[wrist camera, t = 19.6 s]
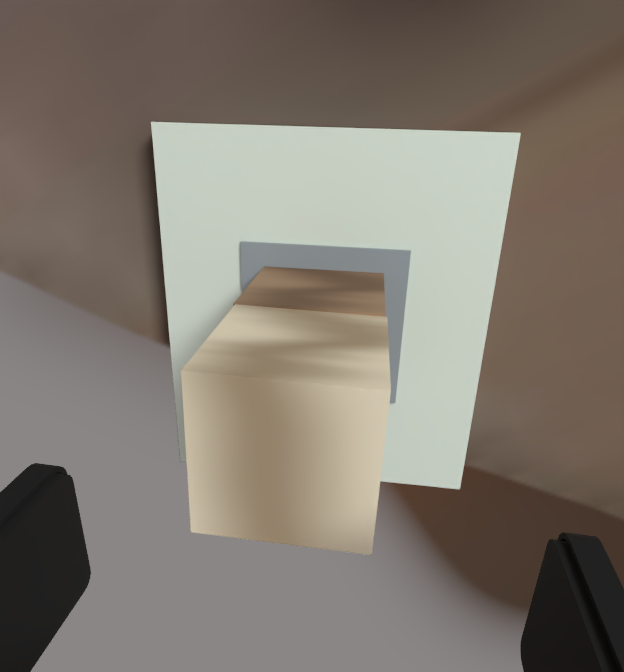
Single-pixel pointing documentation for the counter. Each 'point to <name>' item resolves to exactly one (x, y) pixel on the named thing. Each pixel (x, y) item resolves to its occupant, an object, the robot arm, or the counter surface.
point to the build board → (347, 252)
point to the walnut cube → (317, 290)
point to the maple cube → (288, 427)
